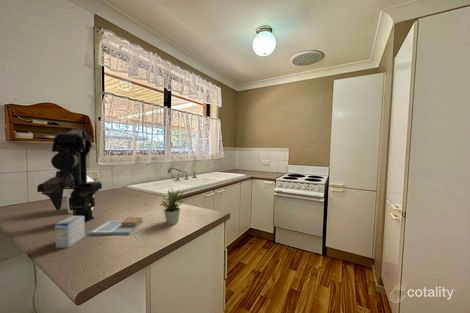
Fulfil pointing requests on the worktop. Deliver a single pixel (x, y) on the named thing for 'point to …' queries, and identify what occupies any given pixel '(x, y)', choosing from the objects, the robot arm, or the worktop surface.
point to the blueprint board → (118, 227)
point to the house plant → (172, 207)
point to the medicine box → (69, 231)
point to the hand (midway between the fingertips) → (71, 209)
